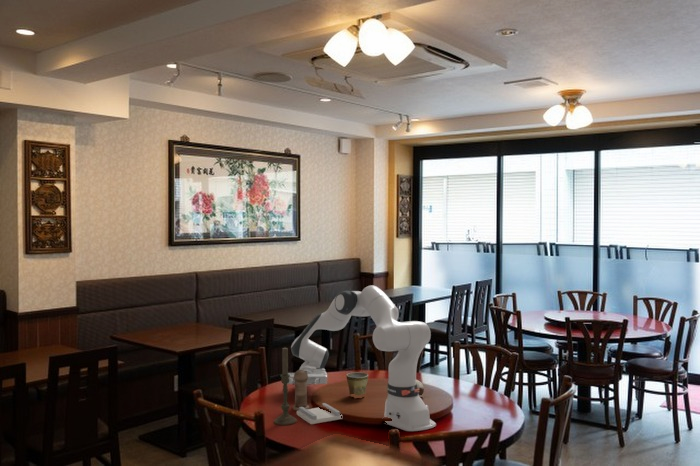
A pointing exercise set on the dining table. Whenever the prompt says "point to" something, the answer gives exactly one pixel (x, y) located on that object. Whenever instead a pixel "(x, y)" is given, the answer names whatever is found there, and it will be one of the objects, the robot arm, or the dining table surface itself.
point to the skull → (420, 387)
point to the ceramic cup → (357, 382)
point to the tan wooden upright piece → (300, 390)
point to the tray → (319, 414)
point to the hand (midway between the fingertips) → (303, 382)
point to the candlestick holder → (285, 393)
